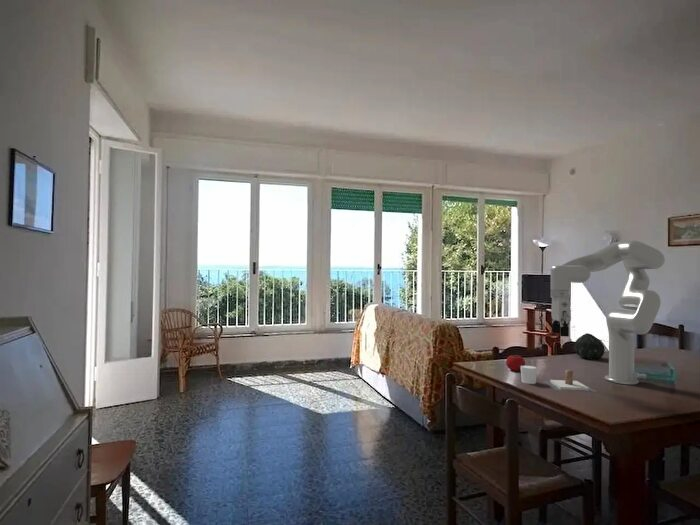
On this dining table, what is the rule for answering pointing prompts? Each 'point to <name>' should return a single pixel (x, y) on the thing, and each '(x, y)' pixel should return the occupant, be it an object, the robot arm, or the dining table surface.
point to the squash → (589, 347)
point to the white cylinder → (528, 374)
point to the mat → (568, 390)
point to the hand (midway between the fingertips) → (560, 334)
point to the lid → (569, 382)
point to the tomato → (515, 362)
